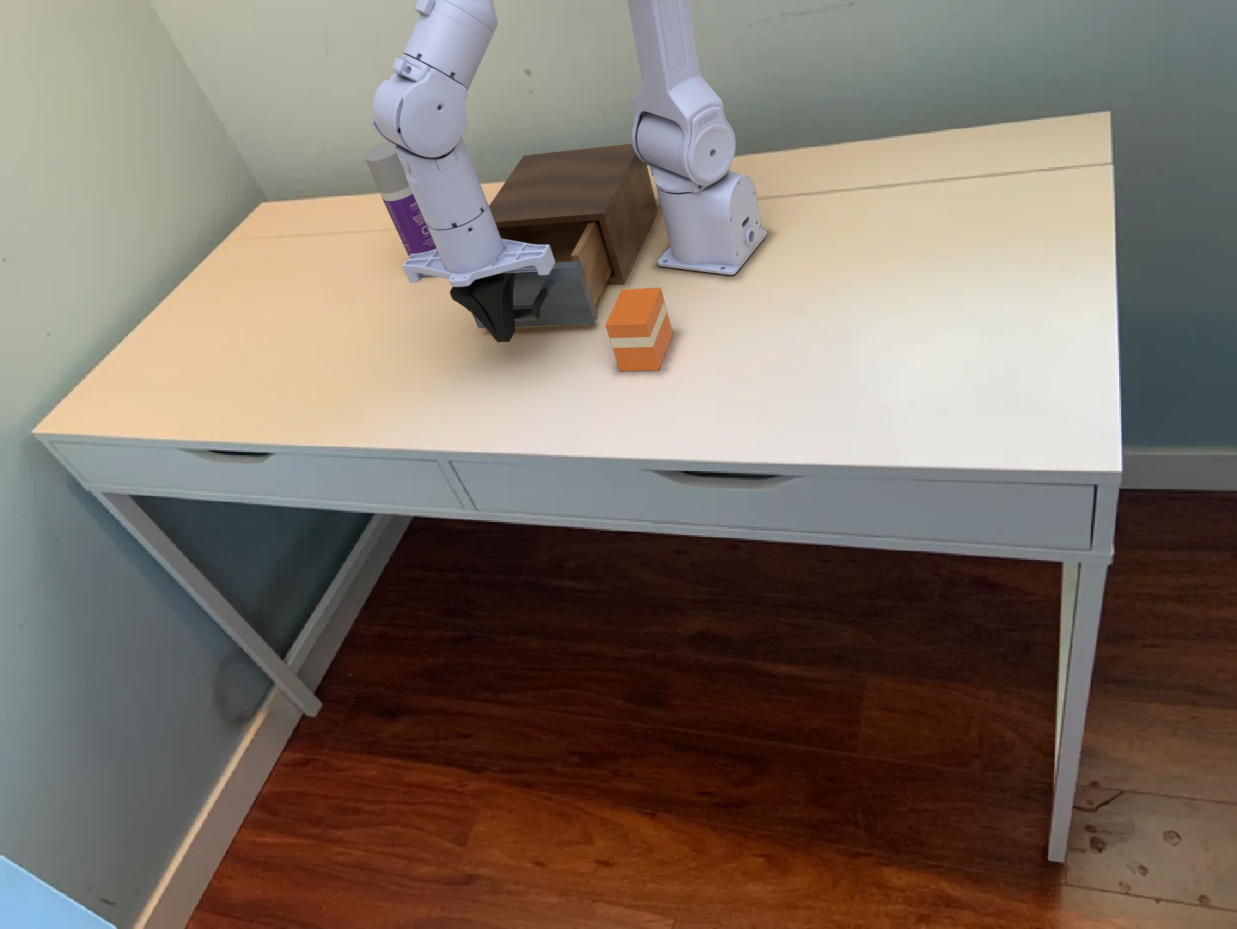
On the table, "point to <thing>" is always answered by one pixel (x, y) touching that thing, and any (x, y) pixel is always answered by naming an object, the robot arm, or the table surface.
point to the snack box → (639, 329)
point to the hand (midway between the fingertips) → (506, 335)
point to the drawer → (561, 275)
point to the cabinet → (583, 197)
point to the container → (399, 198)
